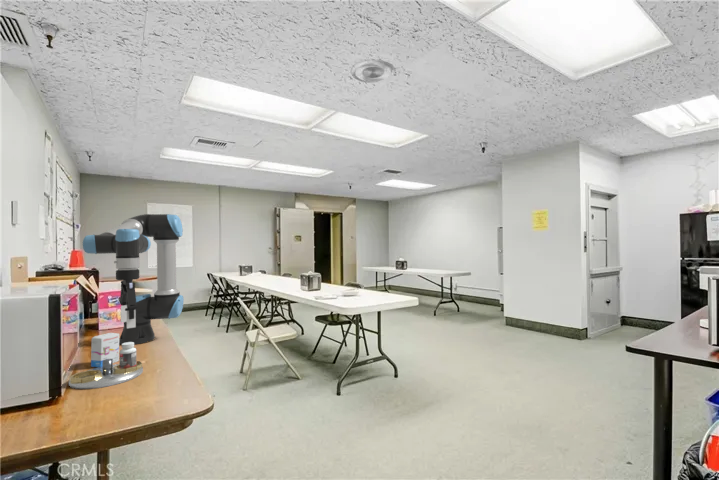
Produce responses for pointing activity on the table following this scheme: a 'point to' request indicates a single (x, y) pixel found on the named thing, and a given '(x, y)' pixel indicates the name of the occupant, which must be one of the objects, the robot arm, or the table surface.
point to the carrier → (104, 375)
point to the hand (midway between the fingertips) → (128, 324)
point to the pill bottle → (127, 355)
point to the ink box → (104, 349)
